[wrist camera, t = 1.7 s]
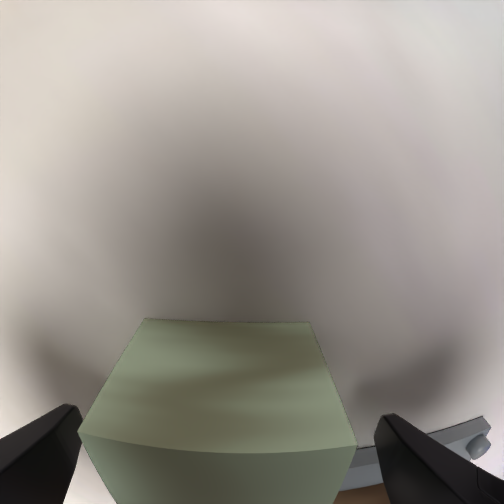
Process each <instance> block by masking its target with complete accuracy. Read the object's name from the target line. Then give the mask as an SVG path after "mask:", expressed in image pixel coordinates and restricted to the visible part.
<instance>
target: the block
mask: <svg viewBox="0 0 504 504" xmlns="http://www.w3.org/2000/svg"><path fill="white" fill-rule="evenodd" d="M77 432H78V434H79V436H80V439H81V441H82V443H83V445H84V447H85V449H86V451H87V453H88V455H89V457H90V459H91V460H92V462H93V464H94V466H95V468H96V470H97V472H98V473H99V475H100V477H101V479H102V480H103V482H104V484H105V485H106V487H107V489H108V490H109V492H110V494H111V495H112V497H113V499H114V500H115V502H116V503H117V504H333V502H334V500H335V498H336V496H337V494H338V491H339V489H340V487H341V485H342V483H343V480H344V478H345V476H346V473H347V471H348V469H349V466H350V464H351V461H352V459H353V456H354V454H355V451H356V449H357V446H358V443H357V441H356V438H355V435H354V433H353V430H352V428H351V425H350V422H349V420H348V417H347V415H346V412H345V410H344V407H343V404H342V402H341V399H340V397H339V394H338V392H337V389H336V387H335V384H334V382H333V379H332V377H331V374H330V372H329V369H328V367H327V364H326V362H325V359H324V357H323V354H322V352H321V349H320V347H319V345H318V342H317V340H316V337H315V335H314V332H313V330H312V328H311V325H310V323H309V322H210V321H184V320H164V319H148V318H145V319H144V320H143V322H142V323H141V325H140V326H139V328H138V330H137V331H136V333H135V334H134V336H133V338H132V339H131V341H130V342H129V344H128V346H127V347H126V349H125V350H124V352H123V354H122V355H121V357H120V359H119V360H118V362H117V364H116V365H115V367H114V369H113V370H112V372H111V374H110V375H109V377H108V379H107V380H106V382H105V384H104V385H103V387H102V389H101V391H100V392H99V394H98V396H97V397H96V399H95V401H94V403H93V404H92V406H91V408H90V410H89V411H88V413H87V415H86V417H85V418H84V420H83V422H82V424H81V426H80V427H79V429H78V431H77Z"/></svg>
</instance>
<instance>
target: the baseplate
mask: <svg viewBox="0 0 504 504" xmlns="http://www.w3.org/2000/svg"><path fill="white" fill-rule="evenodd" d="M490 429H491V426H490V425H489V424H488V422H487V421H486V420H485V419H484V418H483V416H482V417H480V418H477V419H474V420H471V421H469V422H466V423H463V424H460V425H457V426H454V427H451V428H448V429H444V430H441V431H438V432H434V433H431V434H427V435H428V436H430V437H432V438H433V439H435V440H436V441H438V442H439V443H441V444H442V445H444V446H446V447H447V448H449V449H450V450H452V451H454V452H455V453H457V454H458V455H460V456H462V457H463V458H465V459H466V460H468V461H470V460H471V458H472V459H473V460H475V459H478V458H479V457H481V456H482V455H483V454H484V453H486V451H487V450H488V449H489V448H490V446H491V443H490V442H489V441H488V439H487V438H486V435H487V434H488V432H489V430H490ZM380 483H383V479H382V475H381V470H380V465H379V460H378V456H377V451H376V446H375V447H370V448H364V449H358V450H356V451H355V454H354V456H353V459H352V461H351V464H350V466H349V469H348V471H347V473H346V476H345V478H344V480H343V483H342V485H341V487H340V489H339V491H345V490H350V489H356V488H361V487H366V486H371V485H376V484H380Z"/></svg>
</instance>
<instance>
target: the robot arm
mask: <svg viewBox="0 0 504 504" xmlns="http://www.w3.org/2000/svg"><path fill="white" fill-rule="evenodd" d="M82 422H83V419H82V416H81V414H80V411H79V409H78V407H77V406H75V405H71V404H67V403H65V404H63V405H61V406H59V407H57V408H56V409H54V410H52V411H50V412H49V413H47V414H45V415H43V416H41V417H40V418H38V419H36V420H34V421H32V422H31V423H29V424H27V425H25V426H23V427H22V428H20V429H18V430H16V431H14V432H12V433H11V434H9V435H7V436H5V437H3V438H1V439H0V504H63V502H64V499H65V496H66V493H67V490H68V488H69V485H70V482H71V479H72V476H73V474H74V471H75V468H76V464H77V460H78V456H79V452H80V448H81V444H82V441H81V439H80V436H79V434H78V432H77V431H78V429H79V427H80V426H81V424H82ZM374 442H375V446H376V451H377V456H378V460H379V465H380V470H381V475H382V479H383V483H384V486H385V489H386V492H387V495H388V498H389V501H390V504H504V480H502V479H500V478H498V477H496V476H494V475H492V474H490V473H488V472H487V471H485V470H483V469H482V468H480V467H477V466H476V465H475V464H473V463H471V462H470V461H468V460H466V459H465V458H463V457H462V456H460V455H458V454H457V453H455V452H454V451H452V450H450V449H449V448H447V447H446V446H444V445H442V444H441V443H439V442H438V441H436V440H435V439H433V438H432V437H430V436H428V435H427V434H425V433H424V432H422V431H421V430H419V429H418V428H416V427H415V426H413V425H412V424H410V423H409V422H407V421H406V420H404V419H403V418H401V417H400V416H398V415H397V414H394V413H392V414H386V415H382V416H381V418H380V420H379V423H378V425H377V428H376V430H375V433H374Z"/></svg>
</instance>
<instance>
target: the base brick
mask: <svg viewBox="0 0 504 504" xmlns="http://www.w3.org/2000/svg"><path fill="white" fill-rule="evenodd" d="M333 504H390V501H389V498H388V495H387V492H386V489H385V486H384V483H380V484H376V485H371V486H366V487H361V488H356V489H350V490H345V491H338V494H337V496H336V498H335V500H334V502H333Z"/></svg>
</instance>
